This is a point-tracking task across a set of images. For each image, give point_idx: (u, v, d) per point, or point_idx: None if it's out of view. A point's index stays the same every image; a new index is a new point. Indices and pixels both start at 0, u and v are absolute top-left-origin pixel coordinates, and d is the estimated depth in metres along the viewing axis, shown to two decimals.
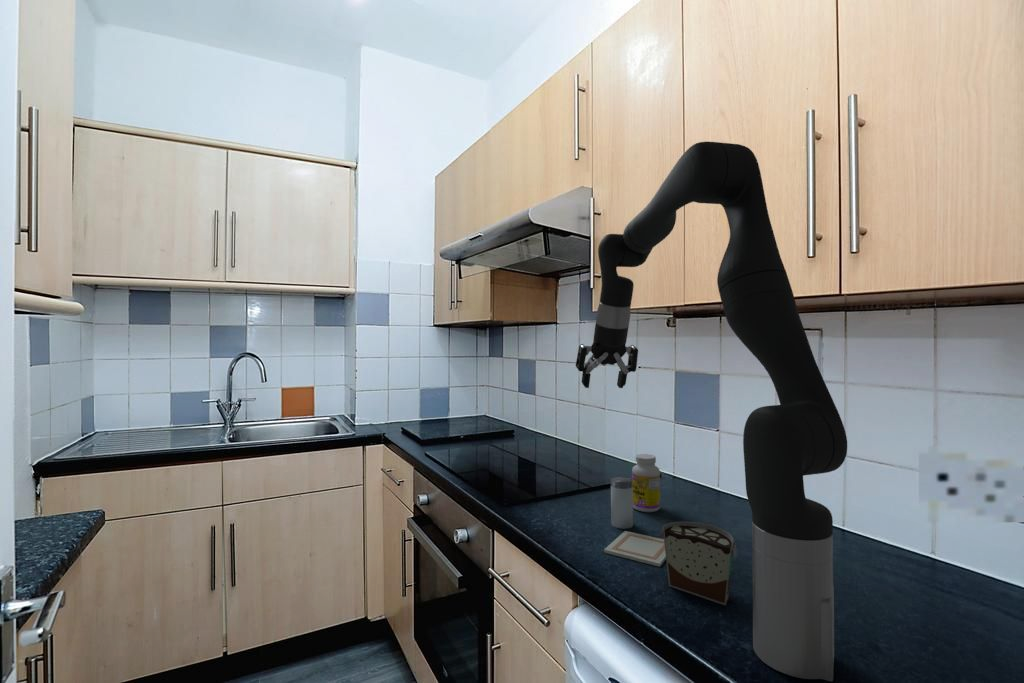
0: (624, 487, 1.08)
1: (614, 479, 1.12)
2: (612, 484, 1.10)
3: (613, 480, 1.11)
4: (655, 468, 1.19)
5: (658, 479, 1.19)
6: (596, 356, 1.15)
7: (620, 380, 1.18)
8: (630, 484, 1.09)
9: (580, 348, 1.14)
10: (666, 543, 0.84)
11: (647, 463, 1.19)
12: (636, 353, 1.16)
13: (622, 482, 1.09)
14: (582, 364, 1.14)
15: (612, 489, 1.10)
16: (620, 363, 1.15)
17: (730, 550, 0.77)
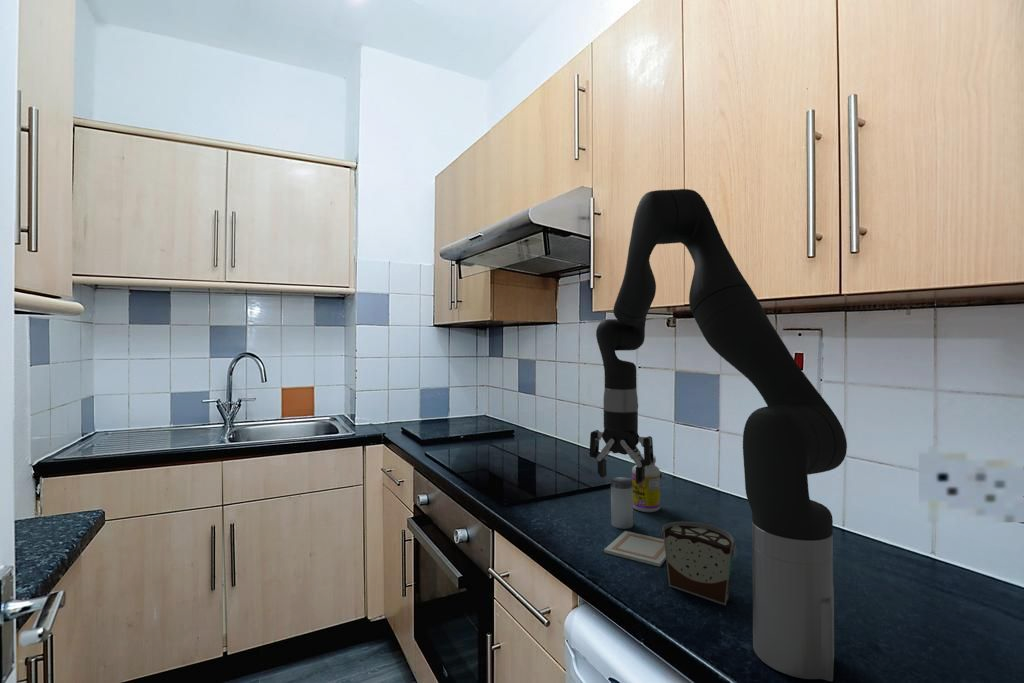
0: (624, 487, 1.08)
1: (614, 479, 1.12)
2: (612, 484, 1.10)
3: (613, 480, 1.11)
4: (655, 468, 1.19)
5: (658, 479, 1.19)
6: (606, 442, 1.12)
7: None
8: (630, 484, 1.09)
9: None
10: (666, 543, 0.84)
11: None
12: (647, 444, 1.06)
13: (622, 482, 1.09)
14: (592, 449, 1.13)
15: (612, 489, 1.10)
16: (629, 453, 1.08)
17: (730, 550, 0.77)
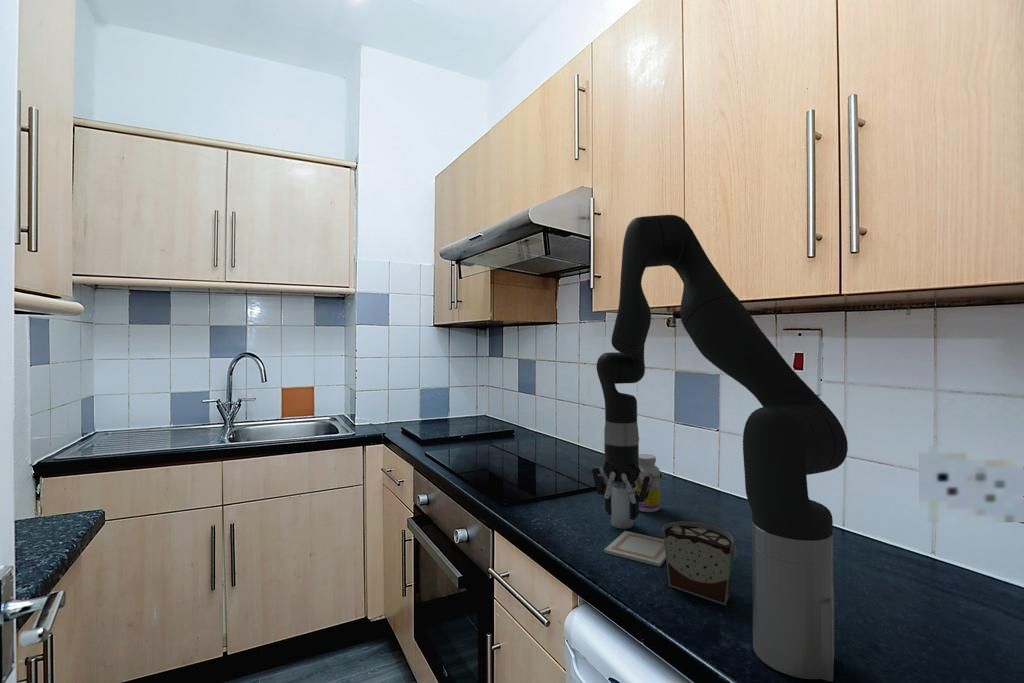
0: (624, 487, 1.08)
1: None
2: (612, 484, 1.10)
3: None
4: (655, 468, 1.19)
5: (658, 479, 1.19)
6: (608, 478, 1.12)
7: None
8: None
9: None
10: (666, 543, 0.84)
11: (647, 463, 1.19)
12: (646, 482, 1.06)
13: (622, 482, 1.09)
14: (598, 486, 1.13)
15: (612, 489, 1.10)
16: (627, 487, 1.08)
17: (730, 550, 0.77)
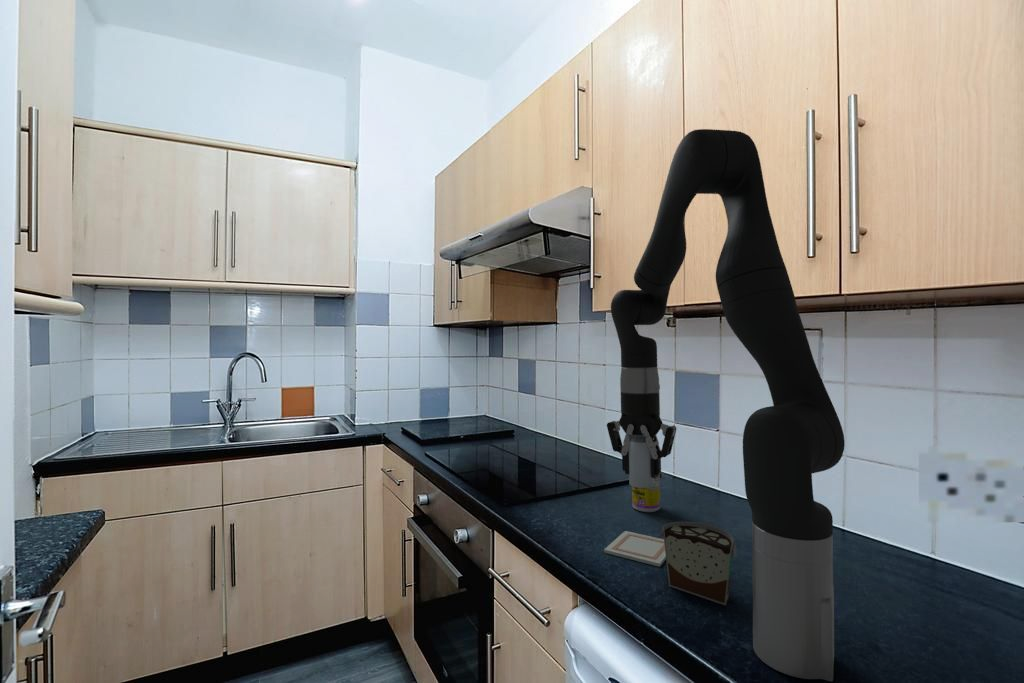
0: (644, 441, 0.96)
1: None
2: (630, 438, 0.98)
3: None
4: None
5: (658, 479, 1.19)
6: (625, 432, 0.99)
7: None
8: None
9: None
10: (666, 543, 0.84)
11: None
12: (669, 434, 0.94)
13: (641, 435, 0.97)
14: (614, 442, 1.00)
15: (630, 444, 0.98)
16: (647, 441, 0.96)
17: (730, 550, 0.77)
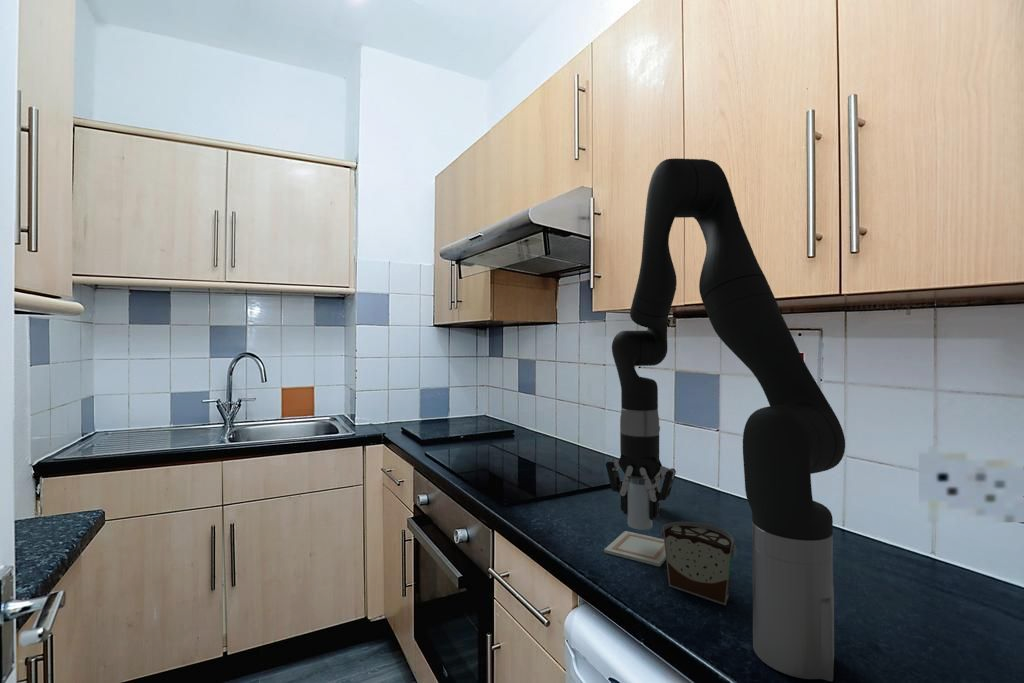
0: (643, 483, 0.96)
1: None
2: (629, 479, 0.97)
3: None
4: None
5: (658, 479, 1.19)
6: None
7: None
8: None
9: None
10: (666, 543, 0.84)
11: None
12: (669, 478, 0.94)
13: (641, 477, 0.96)
14: (613, 482, 1.00)
15: (629, 485, 0.97)
16: (646, 483, 0.96)
17: (730, 550, 0.77)
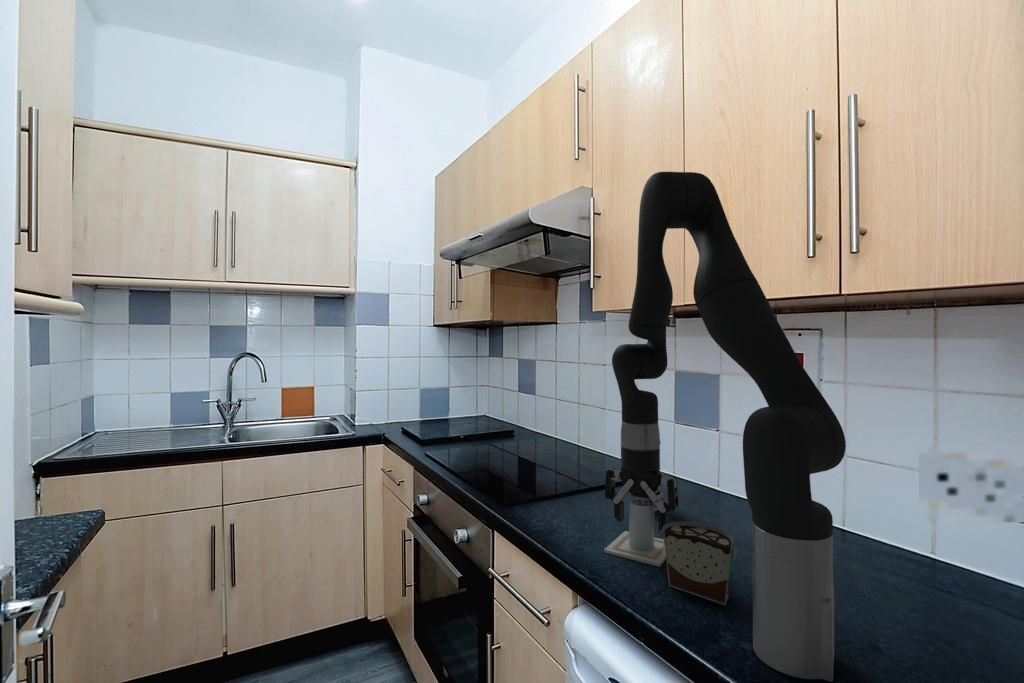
0: (645, 505, 0.96)
1: None
2: (631, 500, 0.97)
3: (632, 496, 0.98)
4: None
5: None
6: (623, 483, 0.99)
7: None
8: None
9: None
10: (666, 543, 0.84)
11: None
12: (671, 486, 0.93)
13: (643, 498, 0.96)
14: (608, 490, 1.01)
15: (631, 506, 0.97)
16: (651, 496, 0.95)
17: (730, 550, 0.77)
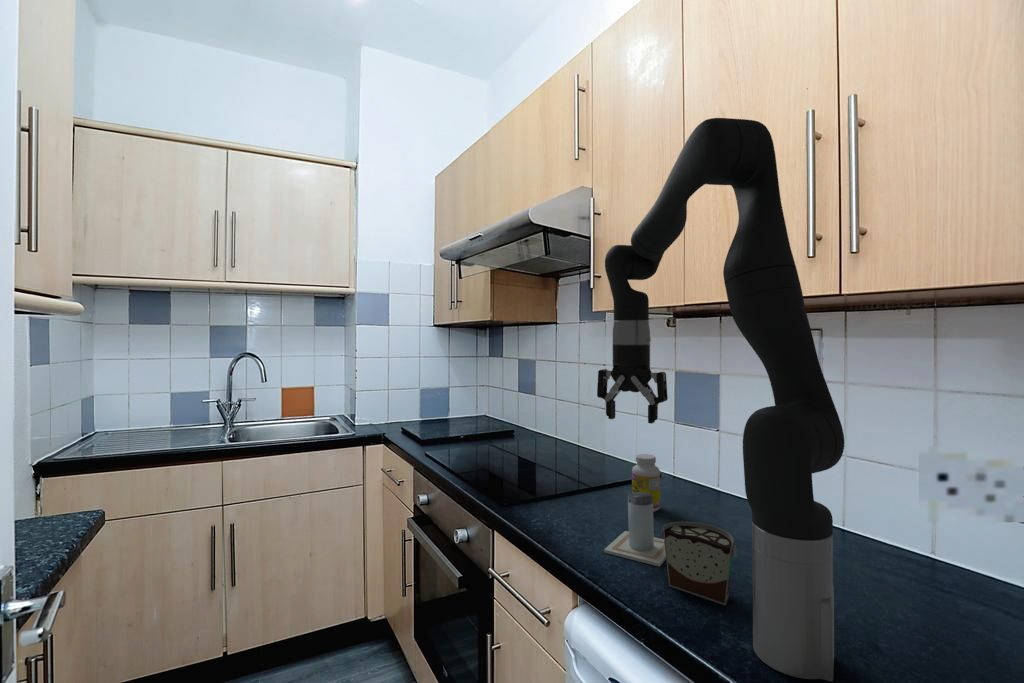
0: (644, 504, 0.96)
1: (632, 494, 0.99)
2: (630, 500, 0.97)
3: (631, 495, 0.98)
4: (655, 468, 1.19)
5: (658, 479, 1.19)
6: (615, 381, 1.03)
7: None
8: (650, 500, 0.96)
9: None
10: (666, 543, 0.84)
11: (647, 463, 1.19)
12: (660, 379, 0.97)
13: (641, 498, 0.97)
14: (600, 389, 1.05)
15: (630, 506, 0.97)
16: (641, 390, 0.99)
17: (730, 550, 0.77)
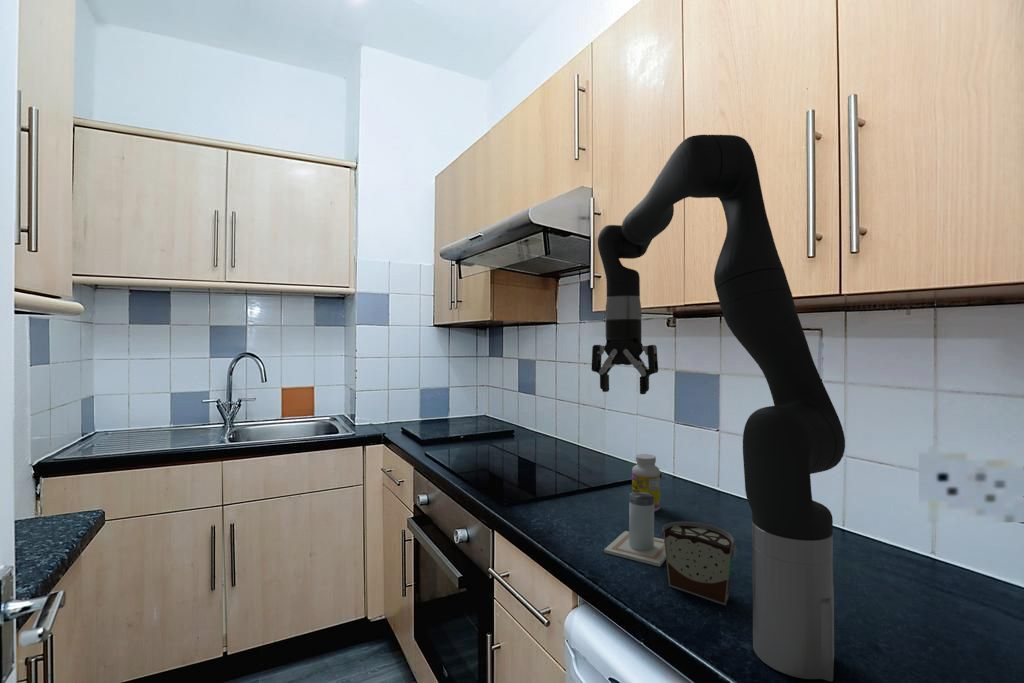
0: (645, 504, 0.96)
1: (633, 494, 0.99)
2: (631, 500, 0.97)
3: (632, 495, 0.98)
4: (655, 468, 1.19)
5: (658, 479, 1.19)
6: (608, 355, 1.08)
7: None
8: (652, 500, 0.96)
9: None
10: (666, 543, 0.84)
11: (647, 463, 1.19)
12: (651, 351, 1.02)
13: (643, 498, 0.96)
14: (594, 363, 1.10)
15: (631, 506, 0.97)
16: (633, 362, 1.04)
17: (730, 550, 0.77)
